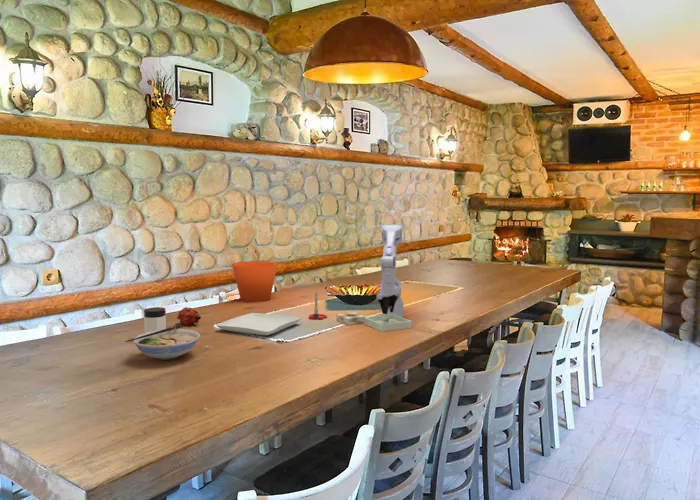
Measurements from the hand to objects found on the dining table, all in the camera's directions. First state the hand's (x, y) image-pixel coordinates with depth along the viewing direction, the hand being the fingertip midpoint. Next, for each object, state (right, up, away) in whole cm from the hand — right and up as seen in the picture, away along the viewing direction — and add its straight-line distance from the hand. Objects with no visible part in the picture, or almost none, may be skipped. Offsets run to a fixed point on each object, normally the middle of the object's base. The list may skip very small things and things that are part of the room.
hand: (387, 312), depth 243 cm
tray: (0, -6, +1) cm, 6 cm away
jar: (-96, -8, -22) cm, 98 cm away
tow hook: (-32, -4, +16) cm, 36 cm away
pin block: (-16, -5, +8) cm, 19 cm away
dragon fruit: (-89, -6, +1) cm, 89 cm away
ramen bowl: (-82, -11, -46) cm, 95 cm away
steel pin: (-1, -4, 0) cm, 4 cm away
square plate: (-56, -7, -4) cm, 57 cm away
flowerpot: (-69, 0, +59) cm, 91 cm away
